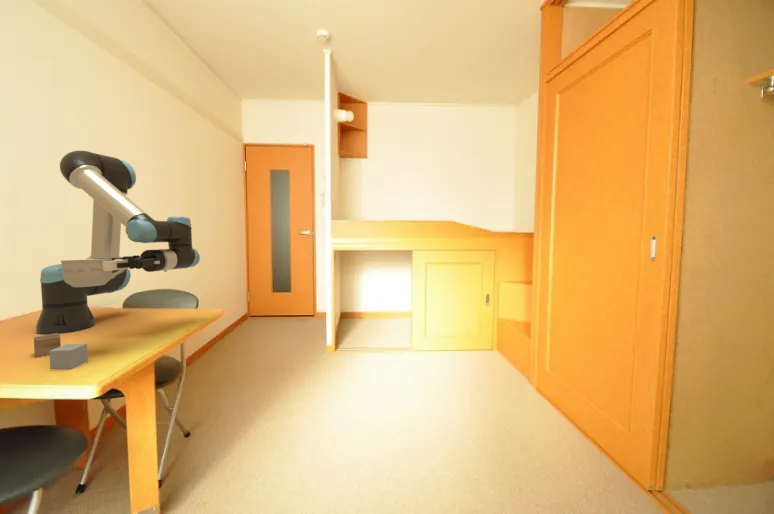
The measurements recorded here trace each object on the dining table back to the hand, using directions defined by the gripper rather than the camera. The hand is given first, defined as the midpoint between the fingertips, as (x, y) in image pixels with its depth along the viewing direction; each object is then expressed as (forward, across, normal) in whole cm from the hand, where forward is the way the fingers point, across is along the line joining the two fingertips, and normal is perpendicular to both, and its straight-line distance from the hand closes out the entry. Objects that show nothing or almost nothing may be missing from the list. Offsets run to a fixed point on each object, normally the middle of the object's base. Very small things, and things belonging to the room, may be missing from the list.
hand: (87, 265), depth 92 cm
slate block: (+8, -4, -26) cm, 27 cm away
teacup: (-1, -1, -6) cm, 6 cm away
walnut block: (+3, +12, -26) cm, 28 cm away
